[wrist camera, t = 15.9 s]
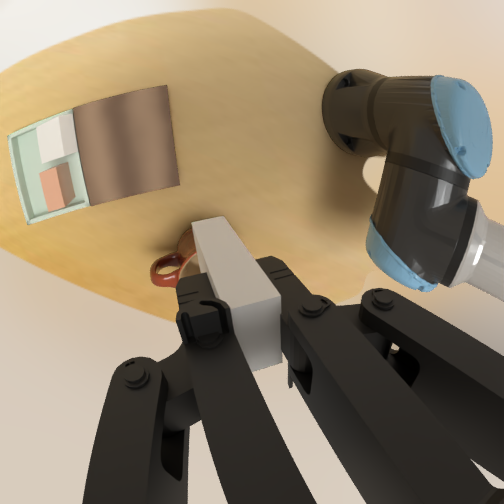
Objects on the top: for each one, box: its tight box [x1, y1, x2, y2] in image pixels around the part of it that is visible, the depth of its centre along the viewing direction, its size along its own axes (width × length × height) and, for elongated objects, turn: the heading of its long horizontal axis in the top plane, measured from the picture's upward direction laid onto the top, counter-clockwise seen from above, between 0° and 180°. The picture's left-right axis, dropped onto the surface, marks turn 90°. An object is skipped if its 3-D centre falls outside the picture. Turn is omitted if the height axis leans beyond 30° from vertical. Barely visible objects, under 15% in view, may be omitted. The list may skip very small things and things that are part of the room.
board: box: [73, 85, 180, 206], centre depth 31 cm, size 12×13×3 cm
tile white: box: [36, 114, 78, 164], centre depth 26 cm, size 5×5×2 cm
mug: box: [150, 228, 201, 288], centre depth 37 cm, size 12×9×10 cm
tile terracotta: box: [39, 162, 76, 212], centre depth 28 cm, size 5×5×2 cm
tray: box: [7, 109, 91, 225], centre depth 28 cm, size 10×13×3 cm
